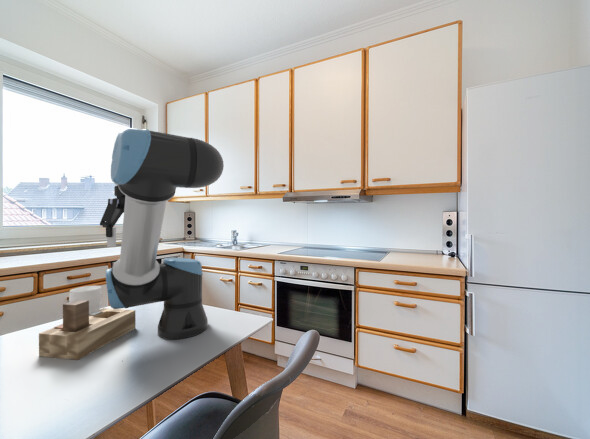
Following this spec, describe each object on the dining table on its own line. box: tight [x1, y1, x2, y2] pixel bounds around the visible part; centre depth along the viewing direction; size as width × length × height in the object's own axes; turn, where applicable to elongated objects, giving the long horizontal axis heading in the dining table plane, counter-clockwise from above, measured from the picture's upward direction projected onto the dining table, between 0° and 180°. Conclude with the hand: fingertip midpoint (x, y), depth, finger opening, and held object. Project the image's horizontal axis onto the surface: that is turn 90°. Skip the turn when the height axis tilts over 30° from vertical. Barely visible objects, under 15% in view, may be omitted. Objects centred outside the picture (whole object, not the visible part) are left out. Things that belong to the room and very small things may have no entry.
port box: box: [38, 307, 137, 361], centre depth 81 cm, size 12×20×6 cm, turn 171°
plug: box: [62, 300, 89, 332], centre depth 76 cm, size 4×4×12 cm
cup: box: [68, 285, 103, 313], centre depth 94 cm, size 9×9×12 cm
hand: (127, 244), depth 98 cm, fingers open, 13 cm apart
